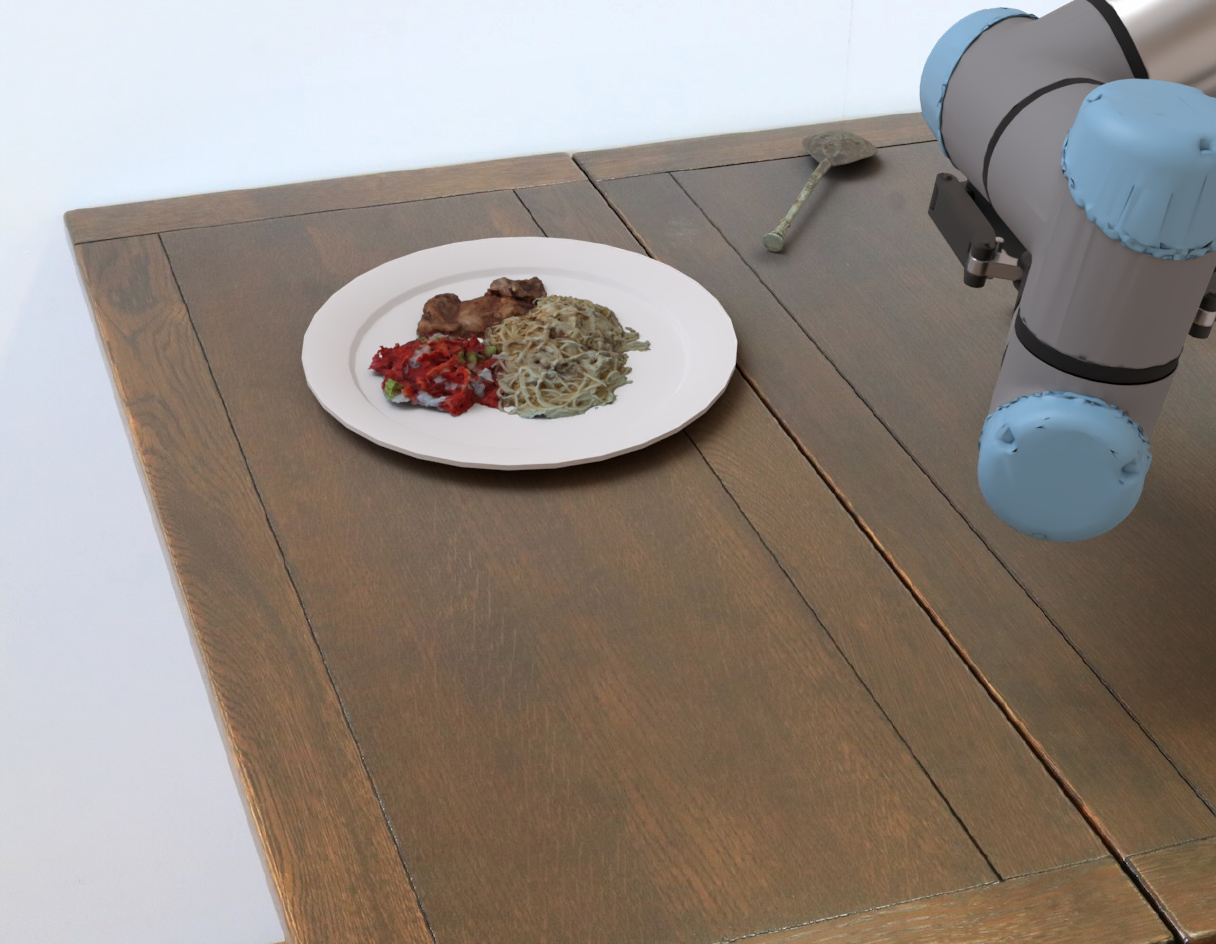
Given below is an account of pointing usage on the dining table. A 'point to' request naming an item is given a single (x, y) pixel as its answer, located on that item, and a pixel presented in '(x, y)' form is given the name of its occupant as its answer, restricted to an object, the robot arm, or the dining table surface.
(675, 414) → the plated food
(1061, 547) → the dining table surface
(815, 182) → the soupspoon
